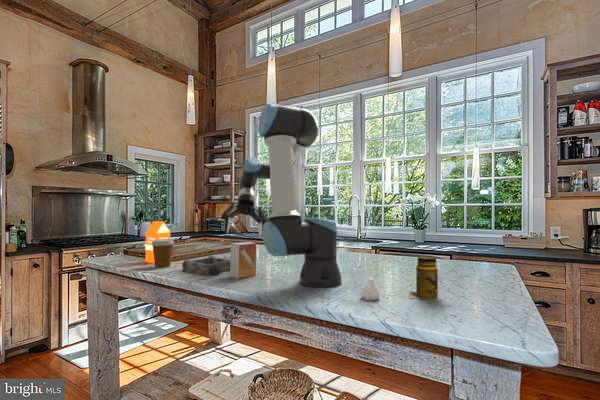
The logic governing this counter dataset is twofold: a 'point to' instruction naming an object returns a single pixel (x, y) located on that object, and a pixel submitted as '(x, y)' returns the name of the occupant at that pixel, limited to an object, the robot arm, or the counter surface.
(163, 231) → the orange juice
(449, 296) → the counter surface
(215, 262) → the dark square tray
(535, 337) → the counter surface
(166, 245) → the disposable coffee cup
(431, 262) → the condiment
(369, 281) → the garlic bulb
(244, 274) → the small box
